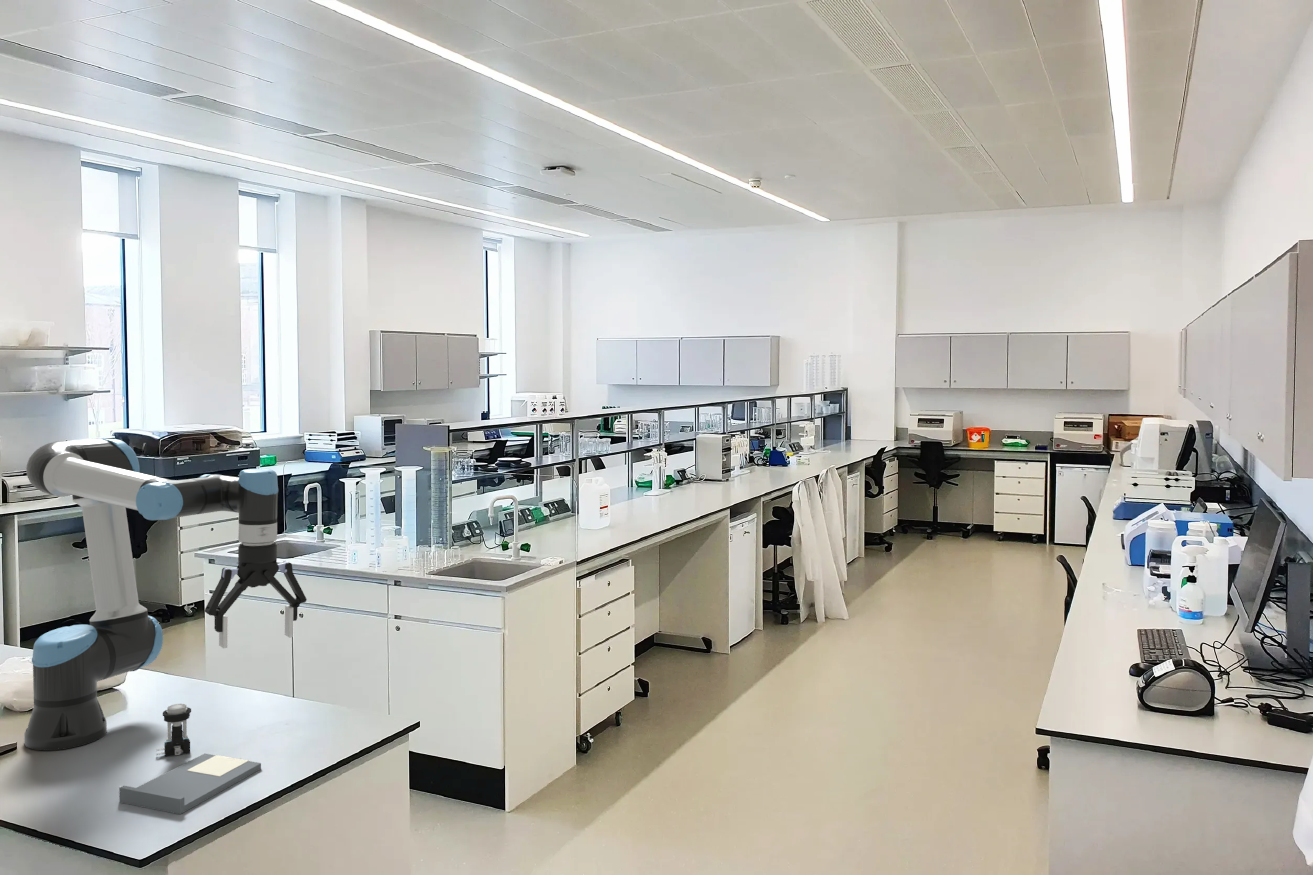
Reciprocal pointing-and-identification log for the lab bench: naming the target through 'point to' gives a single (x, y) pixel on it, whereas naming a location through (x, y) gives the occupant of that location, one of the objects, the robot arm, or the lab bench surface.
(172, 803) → the grey lipped board
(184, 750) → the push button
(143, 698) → the lab bench surface
